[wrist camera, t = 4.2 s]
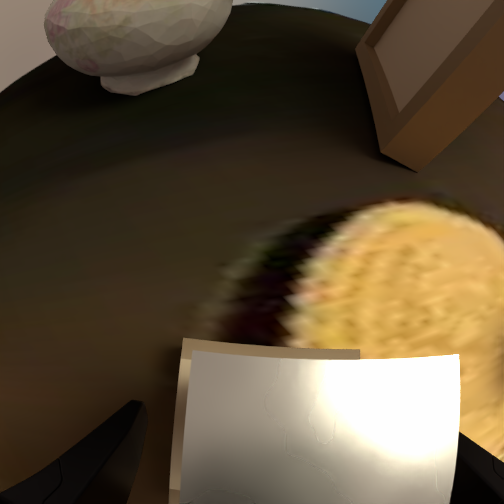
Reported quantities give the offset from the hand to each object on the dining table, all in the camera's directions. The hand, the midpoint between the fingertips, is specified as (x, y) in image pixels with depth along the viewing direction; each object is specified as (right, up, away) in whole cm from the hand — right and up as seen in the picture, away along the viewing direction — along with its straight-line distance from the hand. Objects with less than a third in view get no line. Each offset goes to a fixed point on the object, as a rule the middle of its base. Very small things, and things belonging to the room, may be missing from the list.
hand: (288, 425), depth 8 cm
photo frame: (+18, +21, +20) cm, 35 cm away
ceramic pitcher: (-12, +26, +21) cm, 35 cm away
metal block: (-1, -4, +6) cm, 7 cm away
